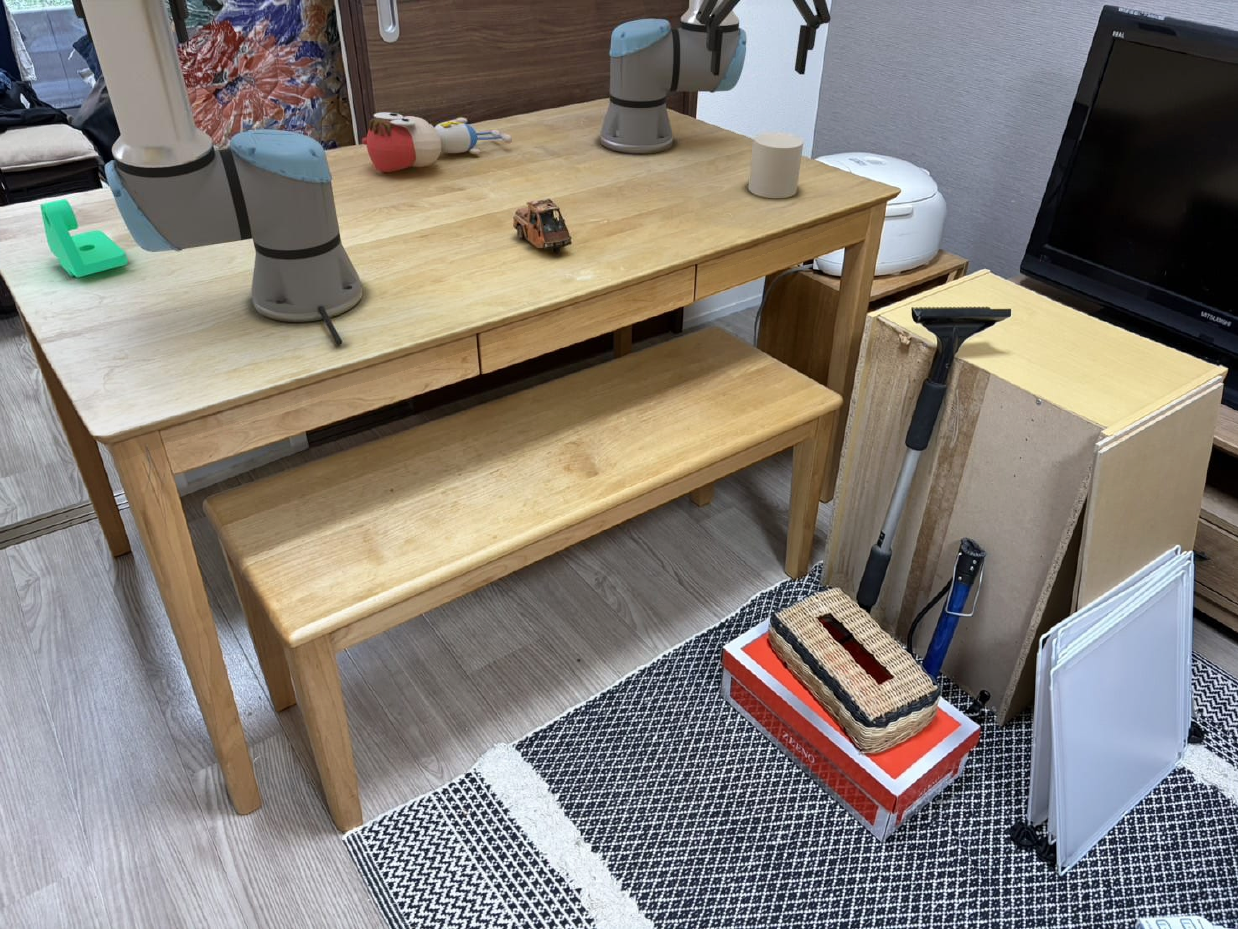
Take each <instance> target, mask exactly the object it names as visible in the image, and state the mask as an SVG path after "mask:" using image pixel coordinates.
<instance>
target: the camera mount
mask: <svg viewBox="0 0 1238 929" xmlns="http://www.w3.org/2000/svg"><path fill="white" fill-rule="evenodd" d="M39 207H40V212H41V218H42V222H43V226H44V231H45V237H46V242H47V244H48V247H49V250H50V253H52V254H53V255H54V256H55V257H56V258H57V259H58V262H59V264H60V266H61V267H62V268H63V270H65V272H66V273H67V274H68V275H69V276H70V277H73V276H74V277H75V278H81V277H85V276H88V275H92V274H96V273H100V272H104V271H107V270H110V269H115V268H118V267H122V266H125V265H127V264H128V263H129V260H128V257H127V254H126V251H124V249H123V248H121V247H120V246H119V245H118V244H117V243H116V242H115V241H113V240H112V239H111V238H110V237H109V236H108V235H107V234H106V233H105V232H103V231H102V230H98V229H97V230H90V231H86V232H83V233H79V234H74V235H71V233H70V232H69V231H73V230H78V229H79V224H78V220H77V216H76V213H75V212H74V209H73V208H72V206H71V204H70V202H69V201H68V200H67V199H66V198H63V199H58V200H54V201H50V202H45V203H40V206H39Z"/></svg>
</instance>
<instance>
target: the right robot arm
mask: <svg viewBox="0 0 1238 929" xmlns="http://www.w3.org/2000/svg"><path fill="white" fill-rule="evenodd" d="M740 1H741V0H689V2H688V9H687V10H686V11H685V13H683V15H681V17H680V24H679V28H672V25H671V23H670V22H669V20H667V19H663V18H642V19H636V20H631V21H627V22H624V23H622V24H619V25H617V26H616V27H615V28H614V29H613V31H612V33H611V38H610V49H609V56H610V68H609V70H610V72H609V74H610V76H609V102H608V103H609V104H608V107H607V111H606V114H605V117H604V120H603V123H602V125H601V129H600V135H599V142H600V144H601V145H602V146H603V147H605V148H607V149H609V150H611V151H615V152H619V153H623V154H636V155H638V154H639V155H642V154H653V153H659V152H663V151H666V150H668V149H669V148H671V147H672V145H673V142H674V141H673V140H674V134H673V129H672V125H671V121H670V118H669V117H670V116H669V113H668V109H667V93H668V92H674V93H675V92H678V93H679V92H702V93H703V92H709V93H710V94H711V93H712V94H713V93H716V92H729V91H731V90H733V89H734V88H735V87H736V86H737V84H738V83H739V80H740V78H741V75H742V73H743V70H744V65H745V59H746V55H747V42H748V41H747V40H748V39H747V33H746V31H745V30H744V29H743V28H742V27H740V18H739V17H738V16H737V15H736V14H735V12H734V10H733V9H734V8H735V7H736V6H737V5H738V4H739V3H740ZM791 1H792V2H793V4H794V6H795V7H796V9H797V10H798V12H799V14H800V15H801V17H802V19H803V20H804V22H805V23H806V24H800V26H799V34H798V41H797V49H796V56H795V62H794V63H795V64H794V71H795V72H796V73H797V74H799V75H805V73H806V67H807V59H808V53H809V51H813V49H814V48H815V42H816V37H817V30H819V28H820V27H821V25H823V24H829V23H830V21H831V14H830V11H829V8H828V4H827V0H812V2H813V6H814V9H815V12H816V14H814V12H813V10H812V9H811V7H810V5H809V4H808V2H807V0H791Z"/></svg>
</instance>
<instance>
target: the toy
mask: <svg viewBox="0 0 1238 929" xmlns="http://www.w3.org/2000/svg"><path fill="white" fill-rule="evenodd" d="M486 135H491V136H486ZM479 136H480V137H479ZM500 139H501V140H502V141H503V142H504V143H507V144H510V143H512V142H513V137H512V136H511V135H510V134H507V133H501V131H500V130H499V129H491V130H490V131H483V132H477V131H476V130H475V129H474V127H472V126H471V125H470V124H468V119H467V118H465V117H462V116H461V117H458V118H455V119H451V120H447V121H443V122H440V123H438V124H436V125H435V126H433V124H432V123H431V122H430V121H428V120H427V119H424V118H421V117H419V116H416V115H413V116H412V115H406V116H404V115H402V114H399V113H396V112H387V111H386V112H377V113H374V114H373V118H371V119H370V120H369V124H368V131H367V135H366V137H364V136H363V138H362V139H361V143H362V144H363V145H365V146H366V149H367V152H368V153H367V154H368V156H369V158H370V161H371V162H372V164H373V166H374V168H375V169H376V170H377V171H379V172H381V173H392V172H396V171H401V170H403V169H407V168H410V167H414V168H424V167H428V166H430V165H432V164H433V163H435V162H436V161H437V160H438V158H439V157H440V154H441V152H443V153H448V154H462V153H465V152H469V153H470V154H471V155H479V154H480V153H481V150H480V148H476V147H475V146H476V145H477V142H478V141H489V140H500Z"/></svg>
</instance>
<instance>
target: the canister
mask: <svg viewBox="0 0 1238 929" xmlns="http://www.w3.org/2000/svg"><path fill="white" fill-rule="evenodd" d="M752 142H753V144H752V152H751V161H750V170H749V179H748V191H749V192H750V193H752V194H754V195H756V196H757V197H761V198H767V199H787V198H791V197H793V196H795V195H796V194H797V191H798V190H797V189H798V183H799V176H800V169H801V163H802V162H801V161H802V155H803V148H804V140H803V139H802V138H801V136H800V137H799V135H795V134H793V133H788V132H780V131H777V132H776V131H769V132H761V133H758V134H756V135H755V136H754V137H753V141H752Z"/></svg>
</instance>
